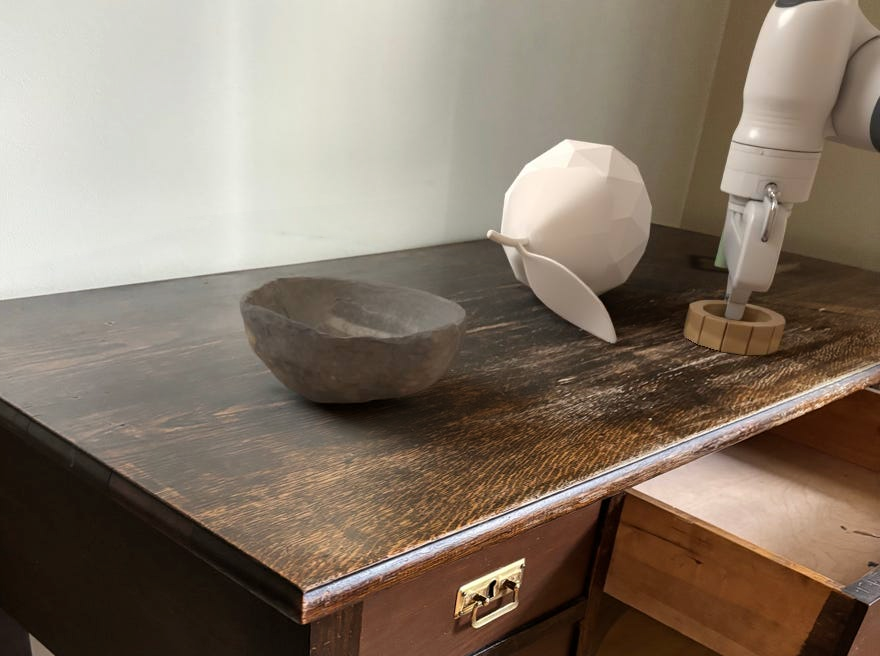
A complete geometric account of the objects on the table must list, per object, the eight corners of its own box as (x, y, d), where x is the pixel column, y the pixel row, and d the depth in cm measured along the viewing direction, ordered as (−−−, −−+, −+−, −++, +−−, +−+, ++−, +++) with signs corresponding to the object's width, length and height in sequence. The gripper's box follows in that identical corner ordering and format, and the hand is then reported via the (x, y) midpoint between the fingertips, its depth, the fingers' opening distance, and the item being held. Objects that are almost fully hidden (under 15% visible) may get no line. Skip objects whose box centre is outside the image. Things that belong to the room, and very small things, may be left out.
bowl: (488, 388, 84) (501, 294, 80) (405, 454, 71) (414, 345, 66) (308, 347, 90) (310, 257, 85) (198, 401, 76) (195, 297, 72)
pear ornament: (604, 100, 109) (498, 111, 89) (732, 251, 110) (656, 298, 89) (511, 211, 120) (397, 244, 100) (627, 349, 121) (538, 410, 100)
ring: (771, 335, 107) (779, 307, 105) (781, 360, 99) (790, 331, 97) (682, 322, 108) (688, 295, 107) (684, 346, 100) (691, 317, 99)
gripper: (813, 196, 89) (770, 345, 97) (788, 168, 106) (753, 297, 114) (744, 188, 90) (706, 336, 98) (730, 162, 107) (699, 290, 115)
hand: (731, 315), depth 106 cm, fingers closed on ring
